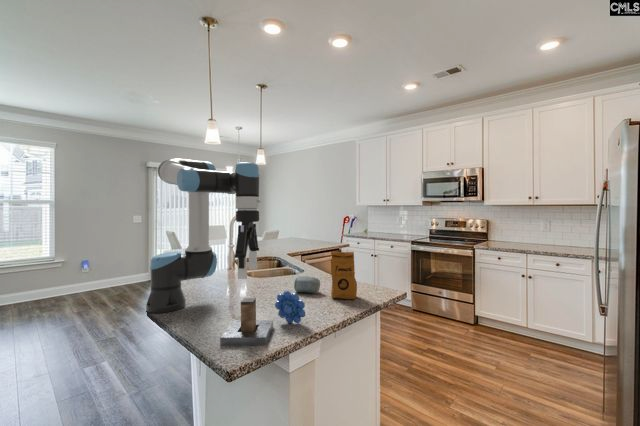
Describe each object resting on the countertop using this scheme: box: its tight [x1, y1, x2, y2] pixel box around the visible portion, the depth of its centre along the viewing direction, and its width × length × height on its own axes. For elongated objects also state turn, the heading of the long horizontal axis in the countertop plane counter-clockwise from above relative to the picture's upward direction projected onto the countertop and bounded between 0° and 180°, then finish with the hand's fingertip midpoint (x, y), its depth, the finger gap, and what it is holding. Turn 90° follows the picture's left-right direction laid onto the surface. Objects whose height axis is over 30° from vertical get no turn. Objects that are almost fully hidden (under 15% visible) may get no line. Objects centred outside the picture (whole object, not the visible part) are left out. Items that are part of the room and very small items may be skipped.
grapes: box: [274, 290, 306, 324], centre depth 106 cm, size 12×7×12 cm, turn 79°
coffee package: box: [330, 251, 358, 300], centre depth 138 cm, size 10×12×22 cm
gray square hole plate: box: [219, 319, 274, 347], centre depth 97 cm, size 14×14×2 cm
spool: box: [293, 275, 321, 295], centre depth 147 cm, size 14×10×10 cm
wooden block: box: [240, 297, 257, 332], centre depth 97 cm, size 4×4×12 cm
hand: (248, 273), depth 97 cm, fingers open, 13 cm apart
